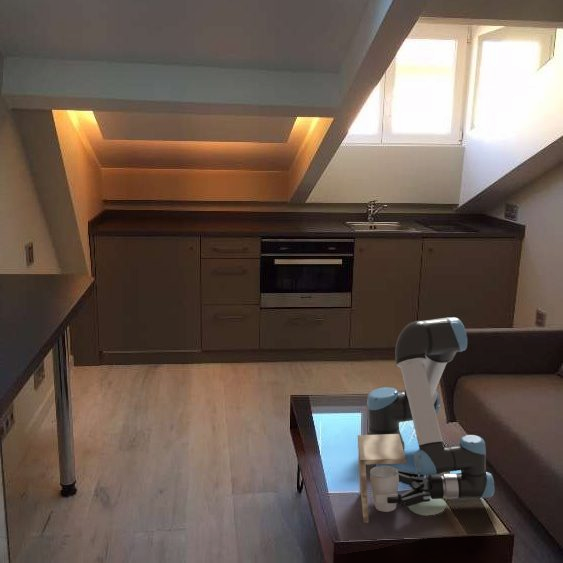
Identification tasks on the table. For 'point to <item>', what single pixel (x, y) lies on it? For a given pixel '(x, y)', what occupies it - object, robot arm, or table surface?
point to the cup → (384, 485)
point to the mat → (428, 507)
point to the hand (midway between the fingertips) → (374, 488)
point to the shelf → (377, 458)
